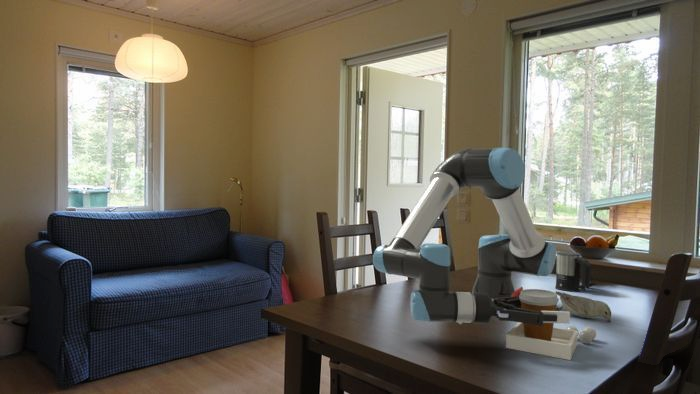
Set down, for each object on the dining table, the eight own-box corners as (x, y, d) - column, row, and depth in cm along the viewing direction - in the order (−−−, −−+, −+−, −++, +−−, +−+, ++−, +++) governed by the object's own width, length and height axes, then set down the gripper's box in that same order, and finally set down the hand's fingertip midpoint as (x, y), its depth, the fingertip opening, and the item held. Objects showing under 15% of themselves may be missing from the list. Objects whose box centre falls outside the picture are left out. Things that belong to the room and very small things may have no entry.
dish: (505, 347, 119) (506, 334, 119) (518, 333, 132) (519, 321, 131) (570, 360, 111) (571, 345, 111) (577, 343, 124) (578, 331, 124)
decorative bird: (610, 324, 144) (611, 299, 144) (552, 315, 153) (553, 292, 153) (611, 320, 149) (612, 296, 149) (555, 312, 158) (556, 289, 157)
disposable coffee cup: (517, 343, 121) (518, 295, 120) (518, 331, 130) (519, 287, 129) (559, 347, 117) (559, 299, 117) (557, 335, 126) (557, 290, 126)
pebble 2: (578, 343, 124) (578, 331, 124) (579, 340, 127) (579, 328, 127) (591, 346, 122) (592, 333, 122) (592, 343, 125) (593, 330, 125)
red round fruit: (519, 314, 153) (520, 289, 153) (506, 309, 158) (507, 285, 158) (532, 312, 155) (533, 287, 155) (519, 308, 161) (520, 284, 160)
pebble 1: (564, 338, 128) (565, 326, 128) (566, 335, 131) (566, 324, 131) (577, 341, 126) (578, 329, 126) (579, 338, 129) (579, 326, 129)
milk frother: (551, 289, 196) (552, 252, 196) (564, 284, 208) (565, 249, 207) (589, 295, 186) (590, 256, 186) (600, 289, 198) (601, 253, 198)
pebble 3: (581, 340, 127) (581, 327, 127) (582, 337, 130) (583, 324, 130) (595, 342, 125) (596, 329, 125) (596, 339, 128) (597, 326, 128)
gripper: (461, 310, 134) (539, 313, 134) (484, 337, 110) (579, 340, 109) (462, 283, 134) (540, 286, 133) (485, 304, 109) (580, 307, 109)
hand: (558, 310), depth 121 cm, fingers open, 12 cm apart
